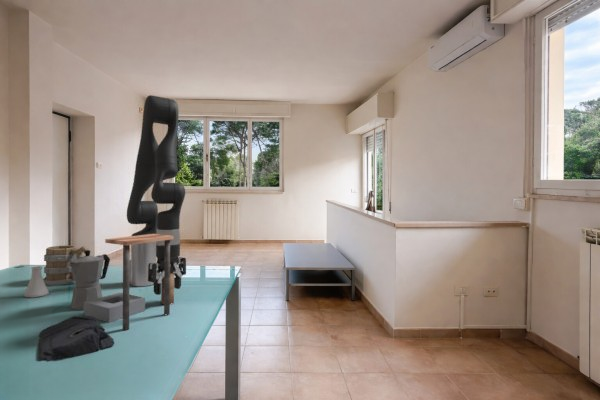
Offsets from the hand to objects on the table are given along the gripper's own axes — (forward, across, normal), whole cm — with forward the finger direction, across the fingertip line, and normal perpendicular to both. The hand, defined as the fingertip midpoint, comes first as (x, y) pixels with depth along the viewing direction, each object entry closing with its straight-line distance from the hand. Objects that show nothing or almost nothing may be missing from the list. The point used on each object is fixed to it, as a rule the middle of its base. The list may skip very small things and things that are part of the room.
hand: (167, 291), depth 123 cm
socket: (+4, +15, -6) cm, 17 cm away
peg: (+4, 0, 0) cm, 4 cm away
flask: (+4, +17, -46) cm, 49 cm away
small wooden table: (+4, +15, +6) cm, 16 cm away
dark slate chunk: (+5, +33, +4) cm, 34 cm away
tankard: (+4, +1, -55) cm, 55 cm away
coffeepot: (+4, +14, -20) cm, 25 cm away
